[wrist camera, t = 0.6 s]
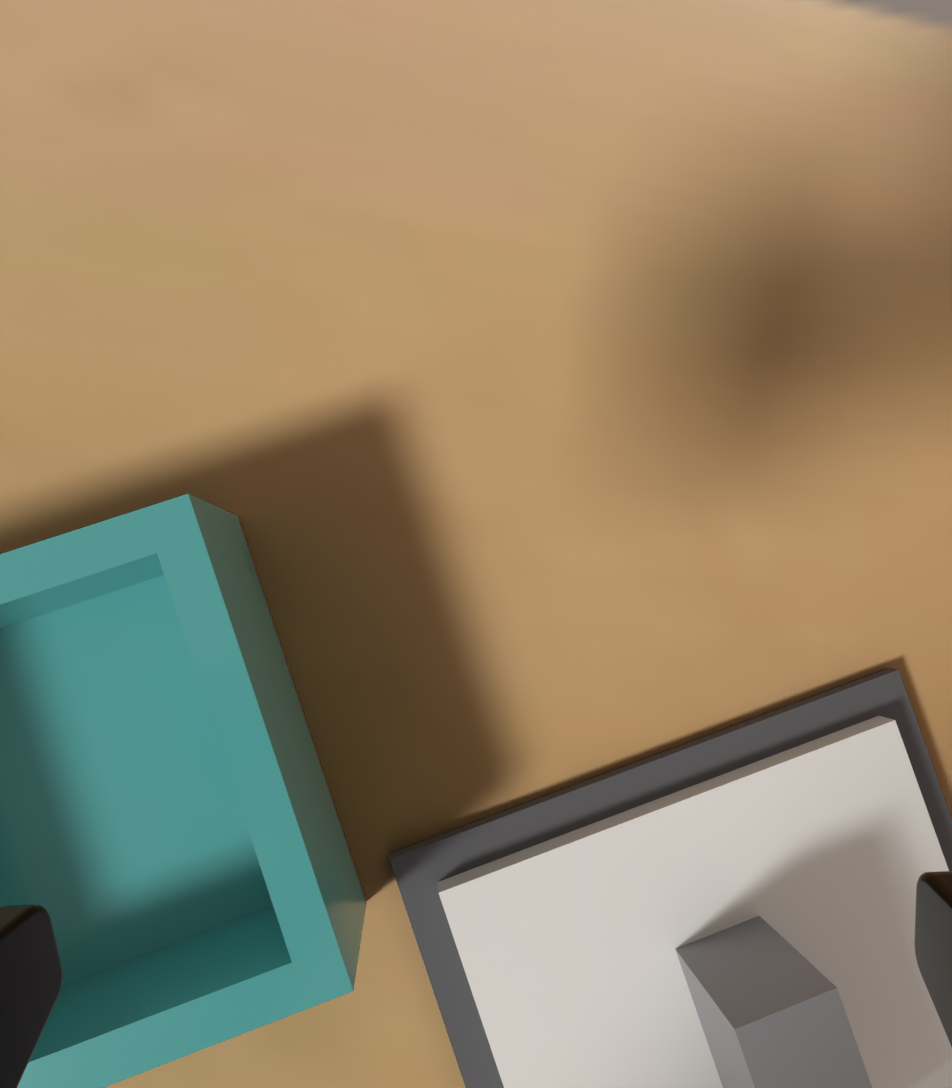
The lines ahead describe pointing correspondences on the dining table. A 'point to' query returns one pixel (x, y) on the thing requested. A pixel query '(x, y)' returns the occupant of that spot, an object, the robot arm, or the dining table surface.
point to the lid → (718, 933)
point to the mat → (618, 794)
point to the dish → (163, 796)
